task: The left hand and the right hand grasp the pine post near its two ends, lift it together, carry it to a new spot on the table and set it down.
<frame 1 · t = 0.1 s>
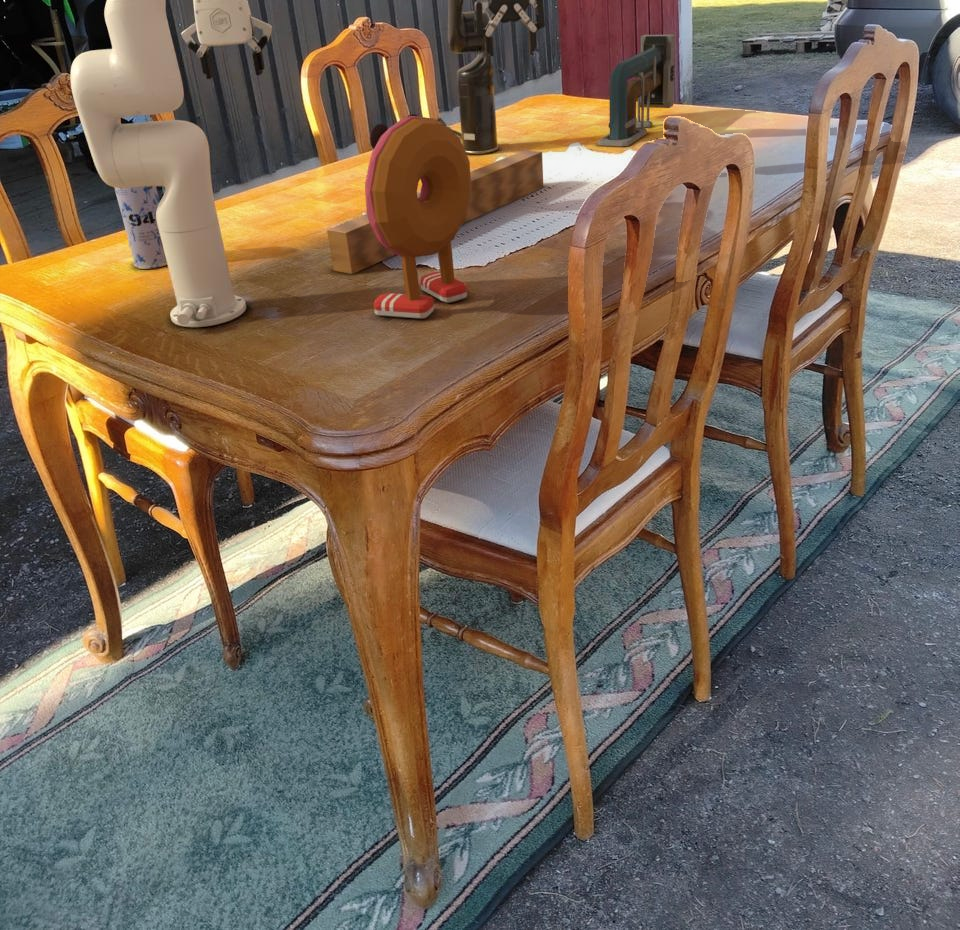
left hand: (235, 76, 187), 31 cm above the table, tool pointing down, fingers open, 9 cm apart
right hand: (511, 53, 201), 29 cm above the table, tool pointing down, fingers open, 8 cm apart
aerosol can: (154, 263, 191), on the table
toy: (426, 304, 161), on the table
clamp: (635, 131, 260), on the table
post: (448, 224, 199), on the table
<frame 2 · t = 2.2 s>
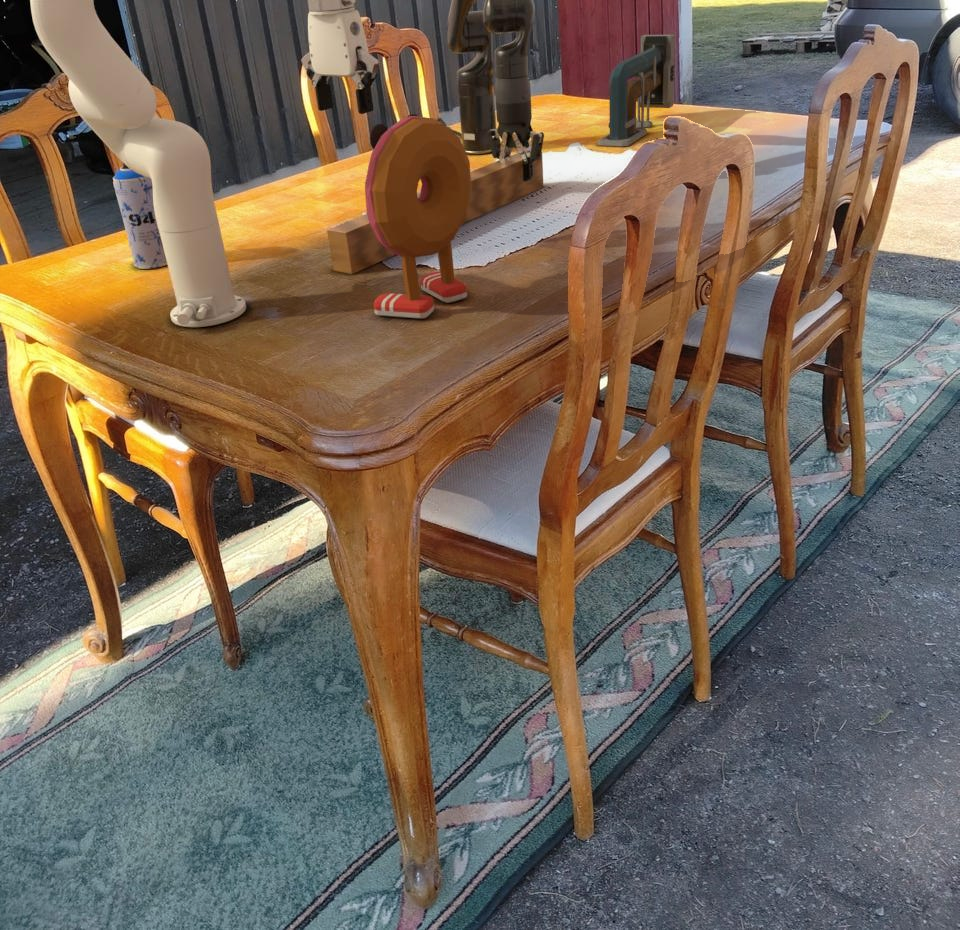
left hand: (345, 110, 168), 27 cm above the table, tool pointing down, fingers open, 9 cm apart
right hand: (517, 178, 214), 3 cm above the table, tool pointing down, fingers closed on post, 5 cm apart
post: (448, 224, 199), on the table, touching right hand
everything else where it was.
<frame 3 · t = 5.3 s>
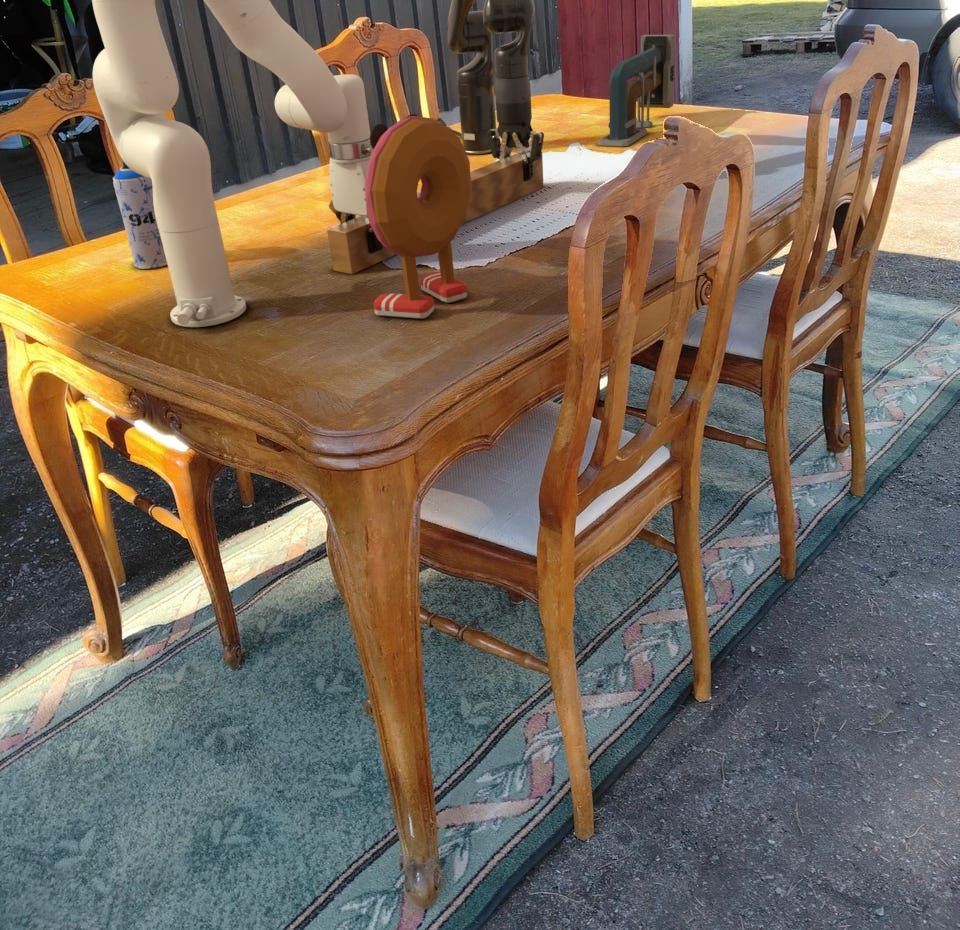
left hand: (364, 248, 181), 3 cm above the table, tool pointing down, fingers closed on post, 4 cm apart
right hand: (517, 178, 214), 3 cm above the table, tool pointing down, fingers closed on post, 5 cm apart
post: (448, 224, 199), on the table, touching left hand, right hand
everything else where it was.
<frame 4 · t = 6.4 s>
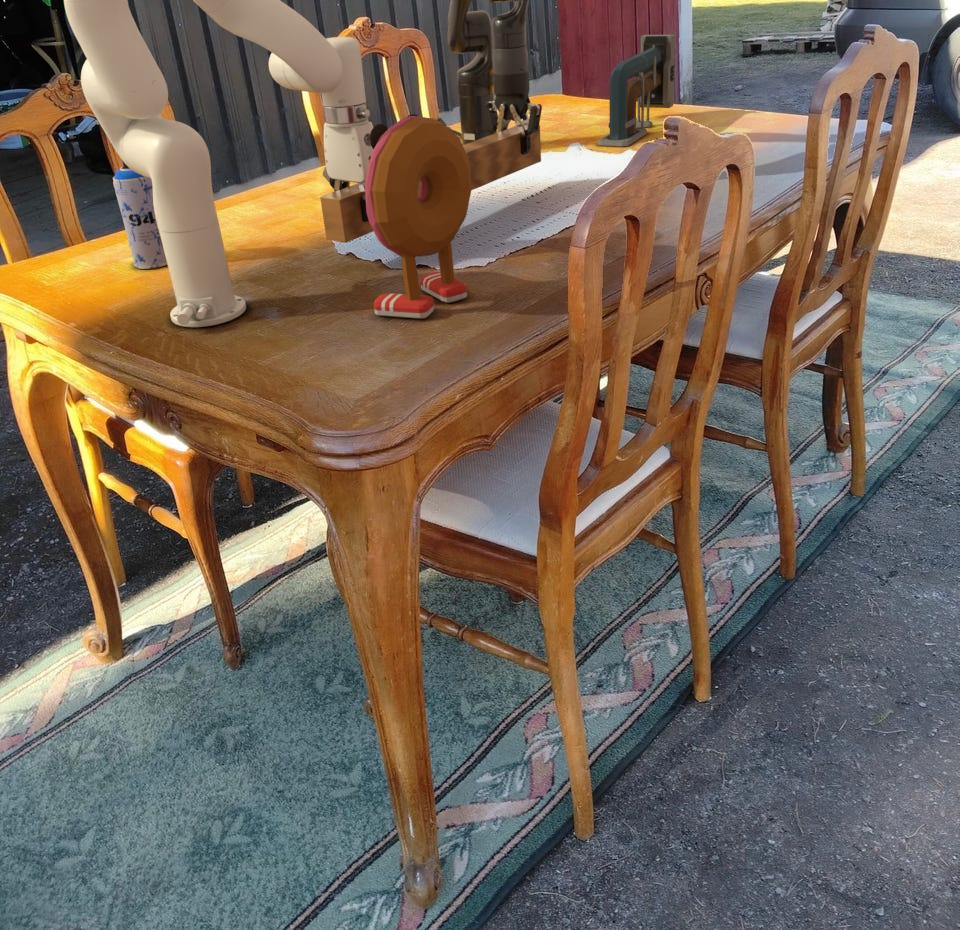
left hand: (358, 216, 178), 9 cm above the table, tool pointing down, fingers closed on post, 4 cm apart
right hand: (514, 152, 211), 9 cm above the table, tool pointing down, fingers closed on post, 5 cm apart
post: (444, 196, 196), point 6 cm above the table, touching left hand, right hand
everything else where it was.
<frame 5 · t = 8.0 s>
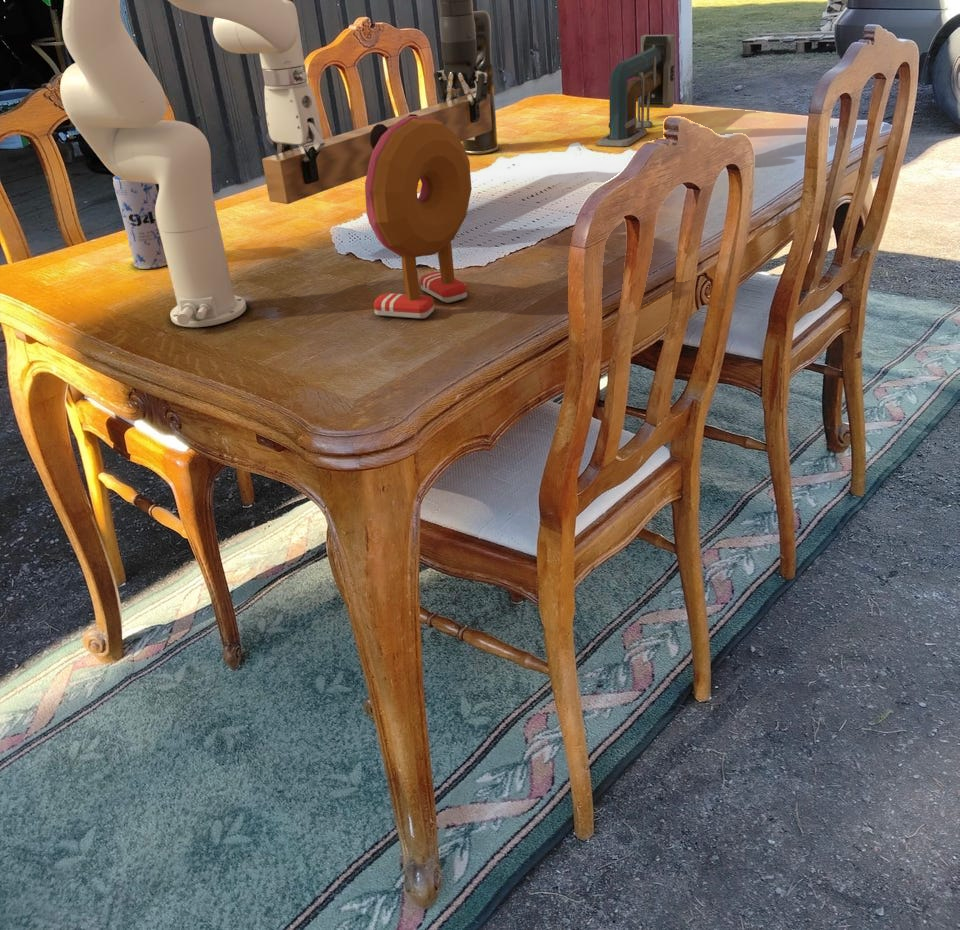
left hand: (301, 179, 181), 15 cm above the table, tool pointing down, fingers closed on post, 5 cm apart
right hand: (464, 120, 213), 15 cm above the table, tool pointing down, fingers closed on post, 5 cm apart
post: (391, 162, 199), point 12 cm above the table, touching left hand, right hand
everything else where it was.
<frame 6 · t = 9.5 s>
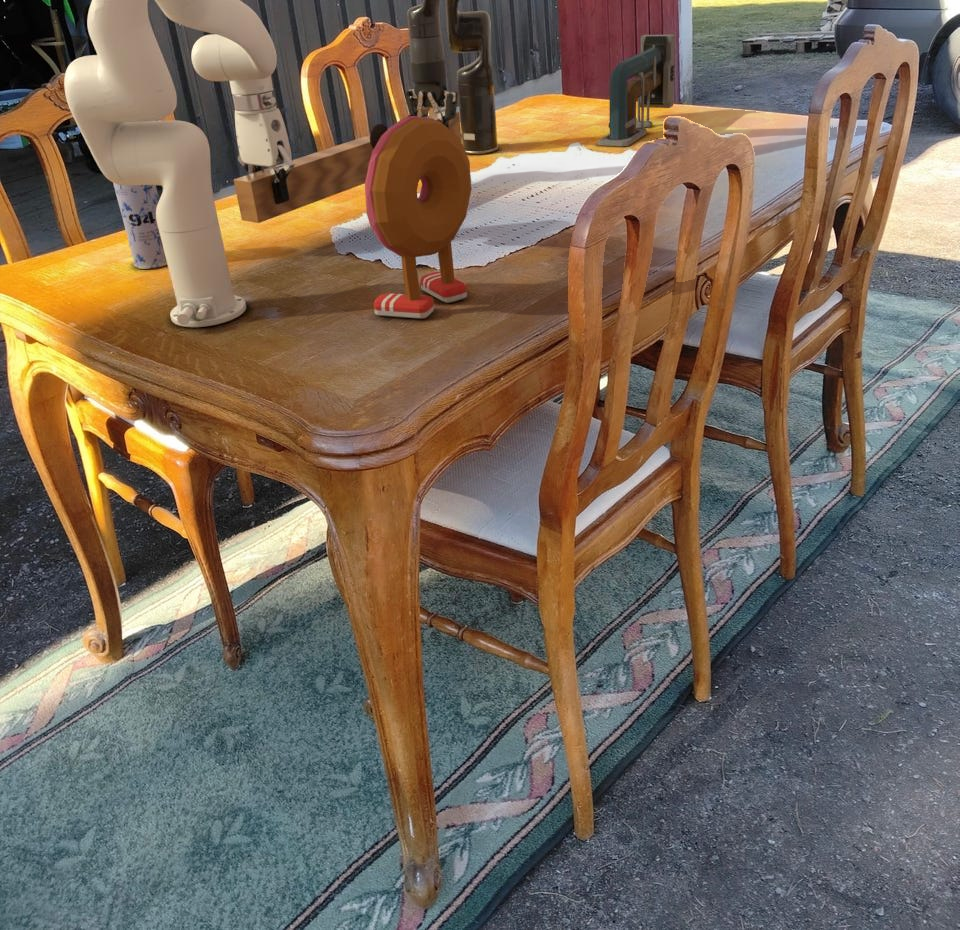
left hand: (272, 199, 187), 10 cm above the table, tool pointing down, fingers closed on post, 4 cm apart
right hand: (435, 138, 220), 11 cm above the table, tool pointing down, fingers closed on post, 5 cm apart
post: (362, 180, 205), point 8 cm above the table, touching left hand, right hand
everything else where it was.
when the left hand's fingers open (4 cm above the table, at t = 10.7 s): post drops 1 cm, on the table.
when the right hand's fingers open (5 cm above the table, at t = 10.8 s): post drops 1 cm, on the table.
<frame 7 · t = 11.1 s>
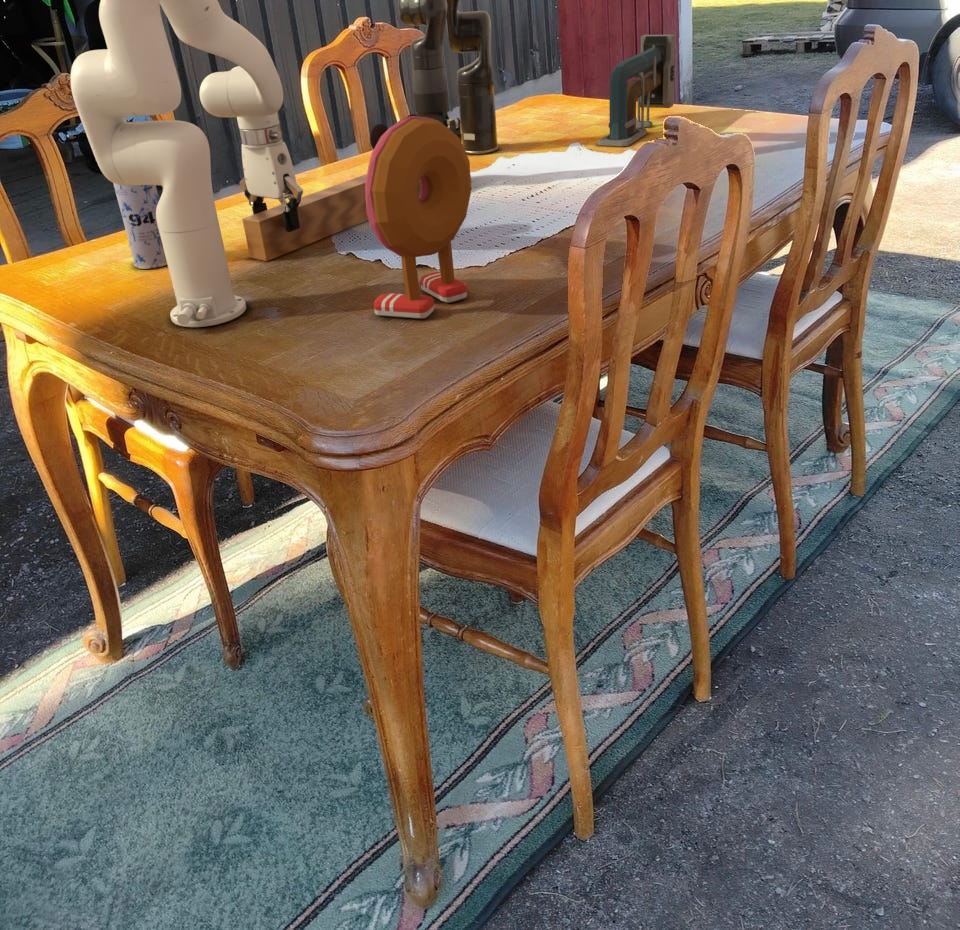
left hand: (277, 227, 190), 5 cm above the table, tool pointing down, fingers open, 8 cm apart
right hand: (437, 164, 223), 5 cm above the table, tool pointing down, fingers open, 7 cm apart
post: (367, 215, 209), on the table
everything else where it was.
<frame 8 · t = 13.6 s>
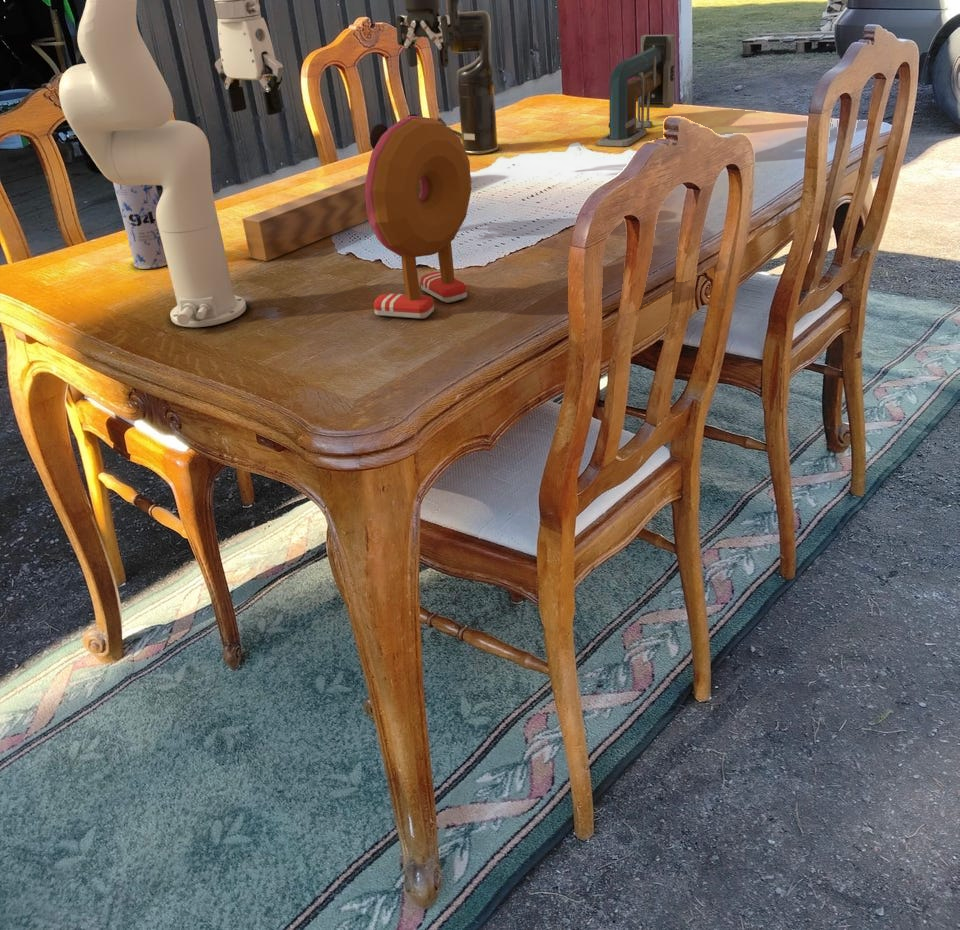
left hand: (256, 112, 179), 26 cm above the table, tool pointing down, fingers open, 9 cm apart
right hand: (428, 66, 212), 26 cm above the table, tool pointing down, fingers open, 8 cm apart
nothing on the table moved.
at the end: post inside the target area (0.1 cm from its centre), on the table; post tilted 0°; post never tilted more than 1° during the clip; both hands held the post at the same time; the left hand is holding nothing; the right hand is holding nothing; post at rest at the end (0.0 cm/s) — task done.
